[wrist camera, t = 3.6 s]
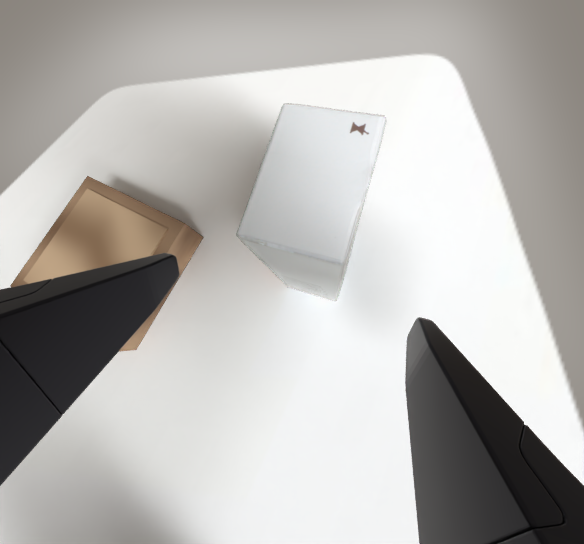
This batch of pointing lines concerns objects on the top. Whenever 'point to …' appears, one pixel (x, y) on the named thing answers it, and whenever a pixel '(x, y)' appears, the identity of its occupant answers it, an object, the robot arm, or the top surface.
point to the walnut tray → (108, 239)
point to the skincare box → (312, 195)
